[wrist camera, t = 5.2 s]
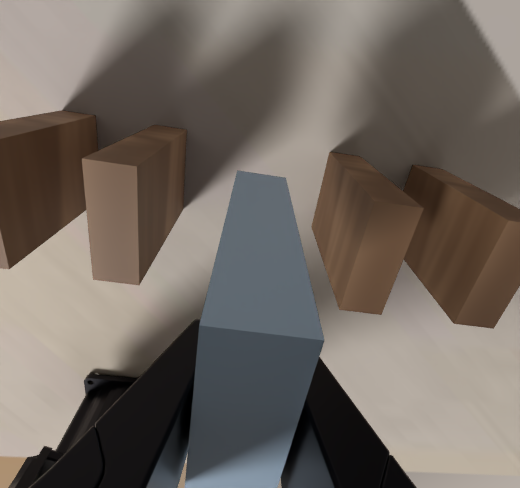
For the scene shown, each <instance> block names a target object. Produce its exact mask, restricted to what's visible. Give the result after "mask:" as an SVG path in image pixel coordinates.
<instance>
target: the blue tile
mask: <svg viewBox="0 0 520 488" xmlns="http://www.w3.org/2000/svg"><path fill="white" fill-rule="evenodd" d="M323 343H324V337H323V333H322V328H321V324H320V320H319V316H318V312H317V307H316V303H315V299H314V295H313V290H312V286H311V282H310V278H309V274H308V269H307V265H306V261H305V257H304V253H303V248H302V244H301V240H300V236H299V232H298V227H297V223H296V219H295V215H294V210H293V206H292V202H291V198H290V194H289V189H288V185H287V181H286V178H283V177H277V176H270V175H264V174H257V173H250V172H244V171H237V174H236V178H235V182H234V186H233V191H232V195H231V199H230V203H229V207H228V211H227V215H226V219H225V223H224V227H223V231H222V235H221V239H220V243H219V247H218V251H217V255H216V259H215V263H214V267H213V272H212V276H211V280H210V284H209V288H208V292H207V296H206V300H205V304H204V308H203V312H202V316H201V320H200V324H199V333H198V345H197V356H196V367H195V378H194V390H193V401H192V412H191V423H190V435H189V446H188V457H187V469H186V480H185V488H277V487H278V484H279V481H280V478H281V474H282V471H283V468H284V465H285V462H286V459H287V456H288V453H289V449H290V446H291V443H292V440H293V437H294V434H295V431H296V428H297V424H298V421H299V418H300V415H301V412H302V409H303V406H304V402H305V399H306V396H307V393H308V390H309V387H310V384H311V381H312V377H313V374H314V371H315V368H316V365H317V362H318V359H319V356H320V352H321V349H322V346H323Z"/></svg>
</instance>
